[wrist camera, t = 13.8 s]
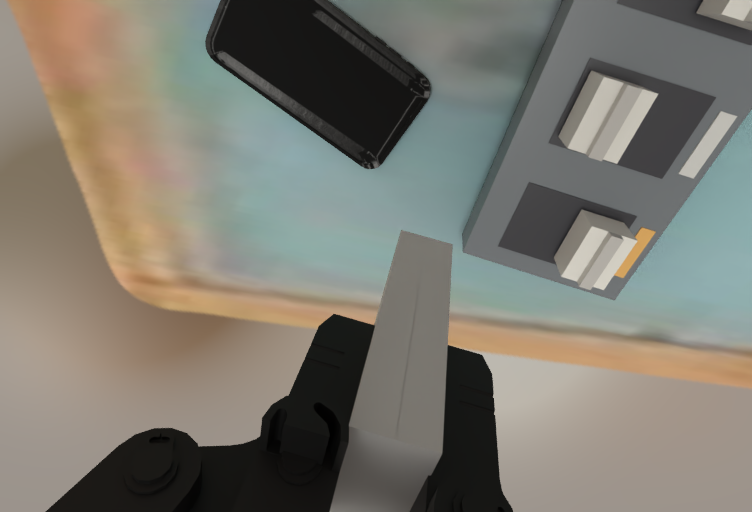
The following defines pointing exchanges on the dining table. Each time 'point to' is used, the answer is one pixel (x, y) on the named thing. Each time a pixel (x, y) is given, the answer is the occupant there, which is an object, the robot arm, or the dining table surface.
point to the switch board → (644, 152)
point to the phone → (321, 72)
